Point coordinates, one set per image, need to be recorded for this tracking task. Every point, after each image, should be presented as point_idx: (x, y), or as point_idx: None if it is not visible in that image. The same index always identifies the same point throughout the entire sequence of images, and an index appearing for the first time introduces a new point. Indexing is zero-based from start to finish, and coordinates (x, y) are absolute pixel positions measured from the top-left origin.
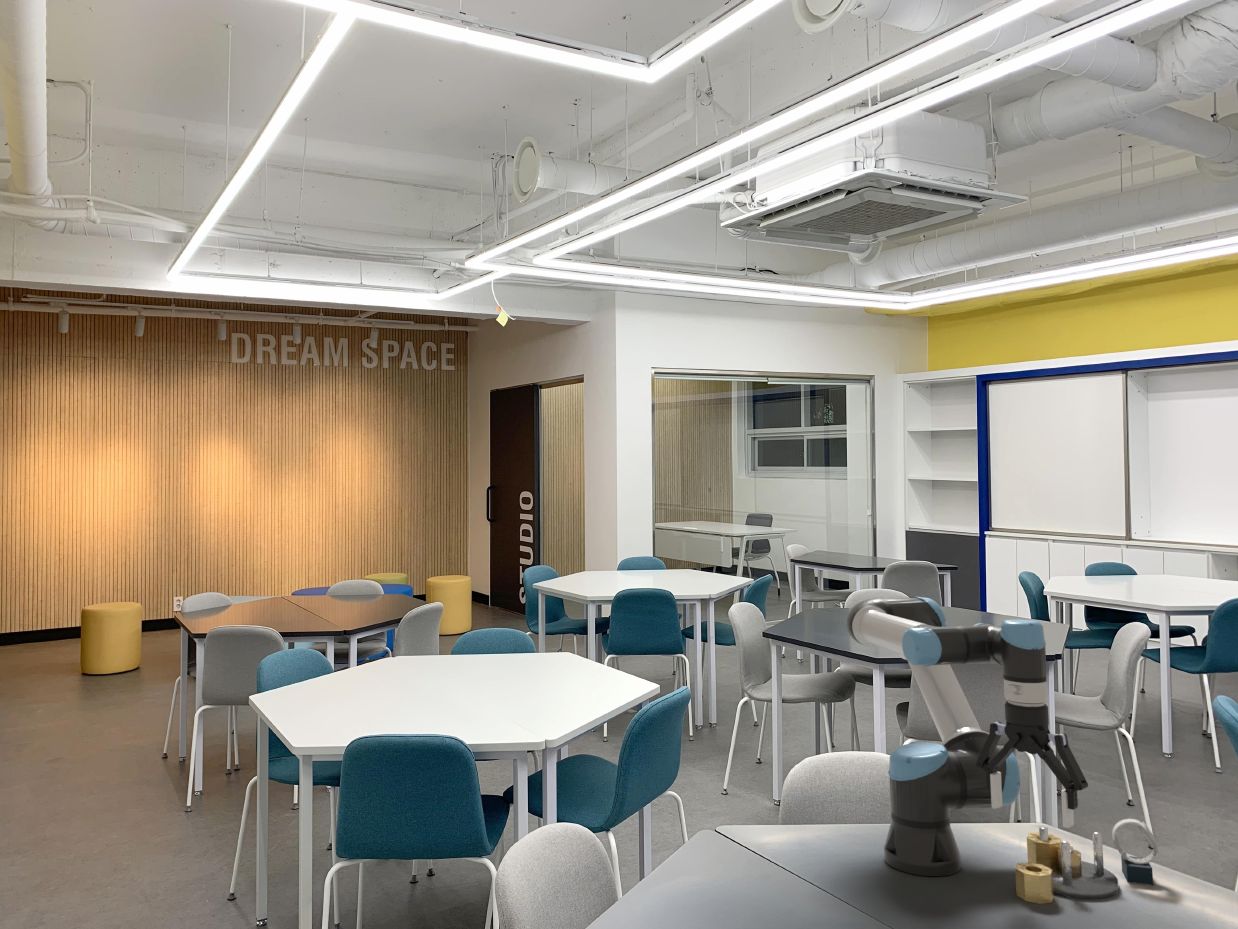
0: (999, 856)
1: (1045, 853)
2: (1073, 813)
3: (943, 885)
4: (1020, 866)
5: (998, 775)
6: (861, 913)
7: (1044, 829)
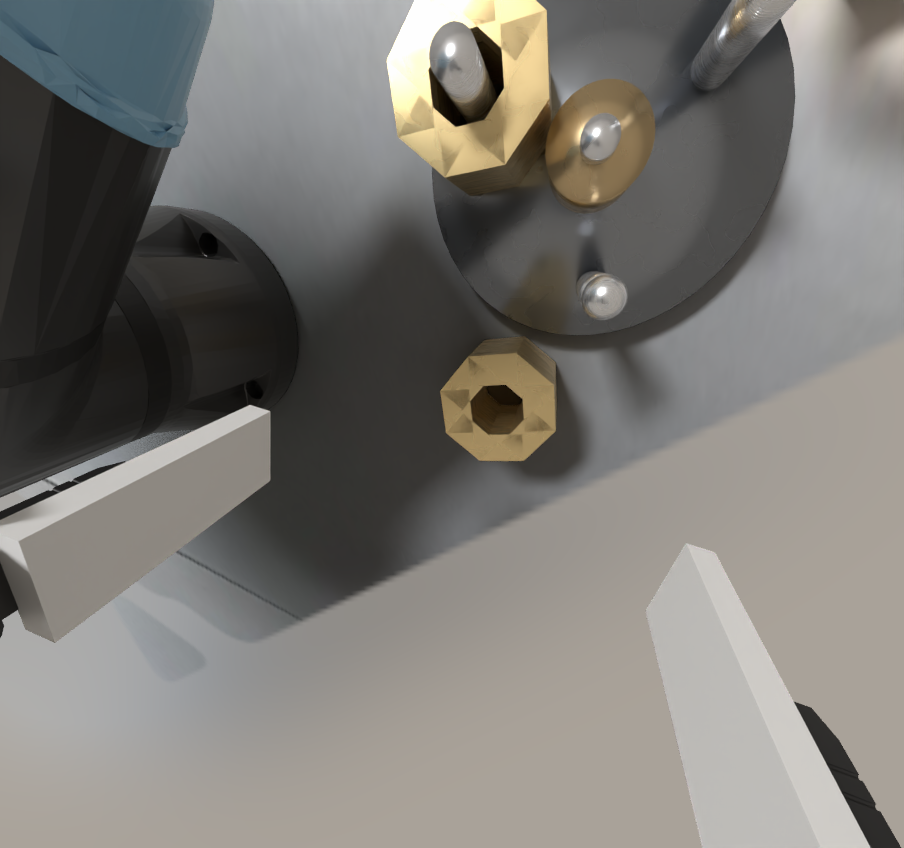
0: (324, 90)
1: (494, 178)
2: (747, 616)
3: (313, 436)
4: (455, 410)
5: (58, 565)
6: (279, 612)
7: (463, 80)
